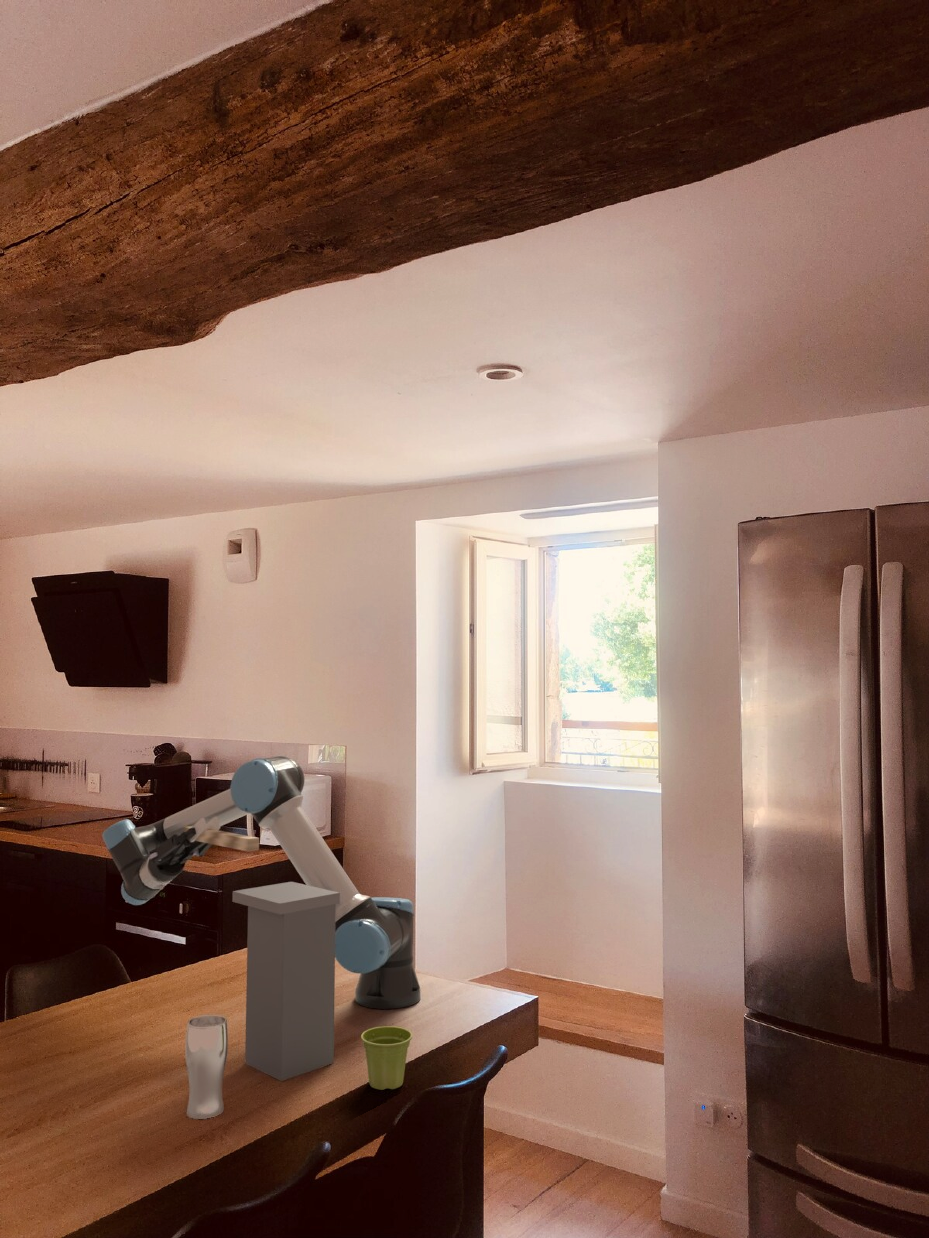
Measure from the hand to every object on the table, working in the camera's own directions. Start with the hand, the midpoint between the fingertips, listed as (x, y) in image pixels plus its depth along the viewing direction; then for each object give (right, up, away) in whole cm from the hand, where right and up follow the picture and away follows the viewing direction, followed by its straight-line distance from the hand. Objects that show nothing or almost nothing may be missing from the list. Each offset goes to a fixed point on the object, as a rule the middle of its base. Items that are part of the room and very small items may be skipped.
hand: (210, 823), depth 209 cm
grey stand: (+20, -41, -23) cm, 51 cm away
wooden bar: (+3, -4, -3) cm, 6 cm away
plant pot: (+41, -40, -34) cm, 67 cm away
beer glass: (+11, -39, -46) cm, 62 cm away
